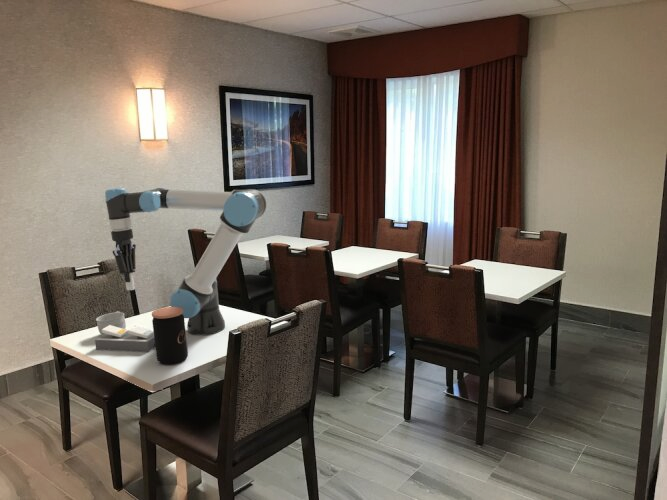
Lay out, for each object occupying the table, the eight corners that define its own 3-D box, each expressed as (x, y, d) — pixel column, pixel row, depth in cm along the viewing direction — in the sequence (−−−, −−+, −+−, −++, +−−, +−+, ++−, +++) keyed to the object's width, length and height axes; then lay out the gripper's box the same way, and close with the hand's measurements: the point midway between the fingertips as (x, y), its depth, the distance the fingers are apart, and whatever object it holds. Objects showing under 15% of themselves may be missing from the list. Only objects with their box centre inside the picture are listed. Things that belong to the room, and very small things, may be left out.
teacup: (116, 339, 216) (114, 320, 215) (92, 338, 219) (90, 319, 217) (136, 327, 230) (133, 309, 228) (113, 327, 232) (110, 309, 230)
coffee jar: (185, 364, 188) (180, 314, 185) (153, 367, 187) (147, 317, 184) (190, 352, 199) (185, 305, 195) (161, 355, 198) (155, 307, 194)
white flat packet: (153, 333, 208) (154, 330, 208) (146, 338, 203) (147, 335, 203) (134, 328, 209) (135, 325, 209) (127, 333, 205) (127, 329, 204)
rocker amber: (127, 333, 211) (128, 329, 210) (120, 337, 206) (120, 334, 205) (109, 327, 212) (109, 324, 211) (101, 332, 207) (101, 328, 207)
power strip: (171, 342, 210) (170, 330, 209) (158, 352, 201) (157, 339, 200) (111, 340, 216) (110, 328, 215) (96, 349, 206) (94, 337, 205)
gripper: (121, 227, 213) (130, 285, 217) (102, 232, 200) (112, 294, 205) (139, 226, 211) (148, 284, 216) (121, 231, 199) (131, 294, 203)
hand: (130, 289), depth 210 cm, fingers closed
